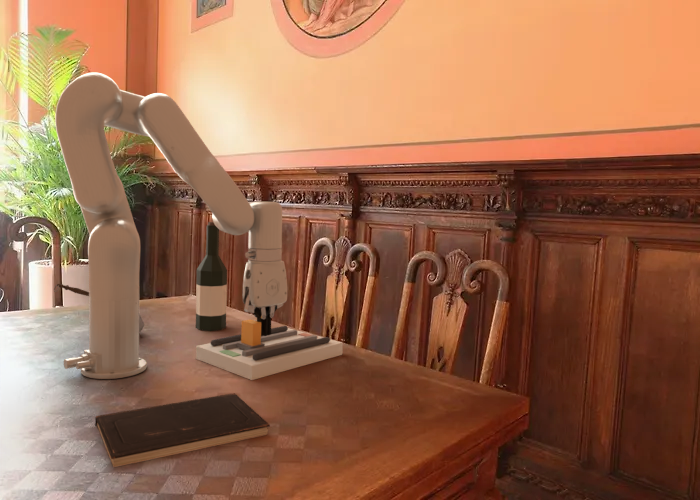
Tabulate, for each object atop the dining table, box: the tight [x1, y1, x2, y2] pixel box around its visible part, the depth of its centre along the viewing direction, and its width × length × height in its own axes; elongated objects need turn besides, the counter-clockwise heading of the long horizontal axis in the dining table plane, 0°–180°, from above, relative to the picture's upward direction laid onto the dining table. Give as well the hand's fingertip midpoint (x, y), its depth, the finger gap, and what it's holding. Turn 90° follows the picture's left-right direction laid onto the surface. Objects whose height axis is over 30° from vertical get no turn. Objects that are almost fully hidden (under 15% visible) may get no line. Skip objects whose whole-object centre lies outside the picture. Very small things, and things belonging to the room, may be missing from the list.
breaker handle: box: [237, 319, 265, 350], centre depth 121 cm, size 4×5×6 cm
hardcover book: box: [94, 393, 270, 468], centre depth 85 cm, size 16×23×2 cm
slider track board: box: [195, 327, 344, 381], centre depth 127 cm, size 28×20×4 cm
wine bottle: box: [195, 221, 228, 332], centre depth 151 cm, size 8×8×30 cm
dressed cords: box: [210, 325, 330, 360], centre depth 126 cm, size 23×16×1 cm
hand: (263, 334), depth 124 cm, fingers closed
